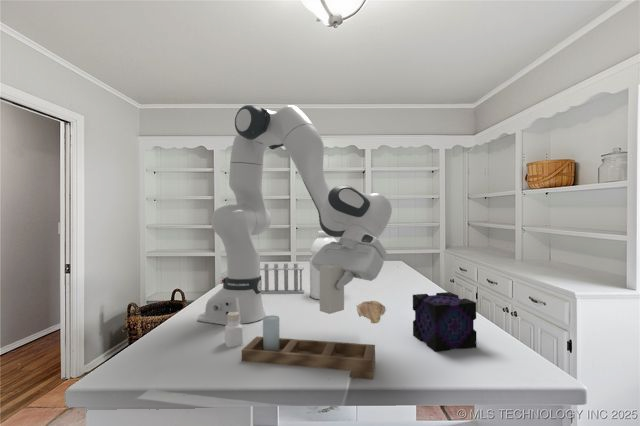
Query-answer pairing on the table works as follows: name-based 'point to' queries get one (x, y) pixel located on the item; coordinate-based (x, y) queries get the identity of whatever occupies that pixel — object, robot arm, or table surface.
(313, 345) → the rack
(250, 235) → the robot arm
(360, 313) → the fish fossil
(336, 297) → the clay block
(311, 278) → the bottle
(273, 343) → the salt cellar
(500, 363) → the table surface
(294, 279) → the test tube rack
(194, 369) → the table surface
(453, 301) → the energy cube
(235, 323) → the pepper shaker
